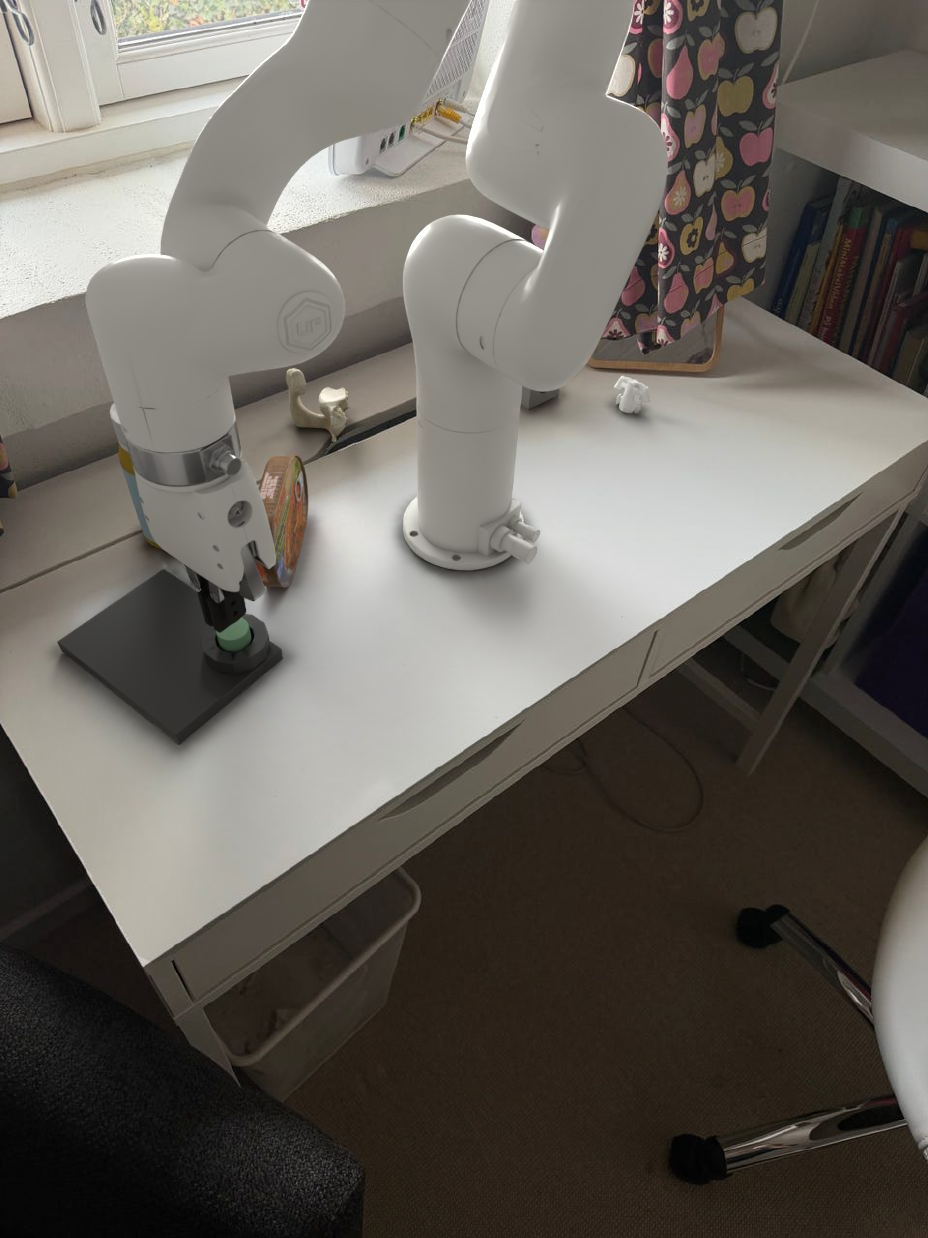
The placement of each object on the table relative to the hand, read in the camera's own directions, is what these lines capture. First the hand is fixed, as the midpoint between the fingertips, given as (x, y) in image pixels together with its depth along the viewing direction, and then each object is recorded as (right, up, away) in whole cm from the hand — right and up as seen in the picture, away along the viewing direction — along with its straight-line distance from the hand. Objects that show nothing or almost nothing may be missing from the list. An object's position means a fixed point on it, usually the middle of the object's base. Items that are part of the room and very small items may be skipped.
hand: (226, 618), depth 75 cm
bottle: (-9, +9, +15) cm, 20 cm away
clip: (+40, +26, +32) cm, 57 cm away
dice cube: (+28, +28, +34) cm, 52 cm away
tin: (+2, +7, +14) cm, 16 cm away
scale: (-6, -3, +4) cm, 8 cm away
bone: (+5, +22, +28) cm, 36 cm away
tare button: (0, -2, +2) cm, 3 cm away
